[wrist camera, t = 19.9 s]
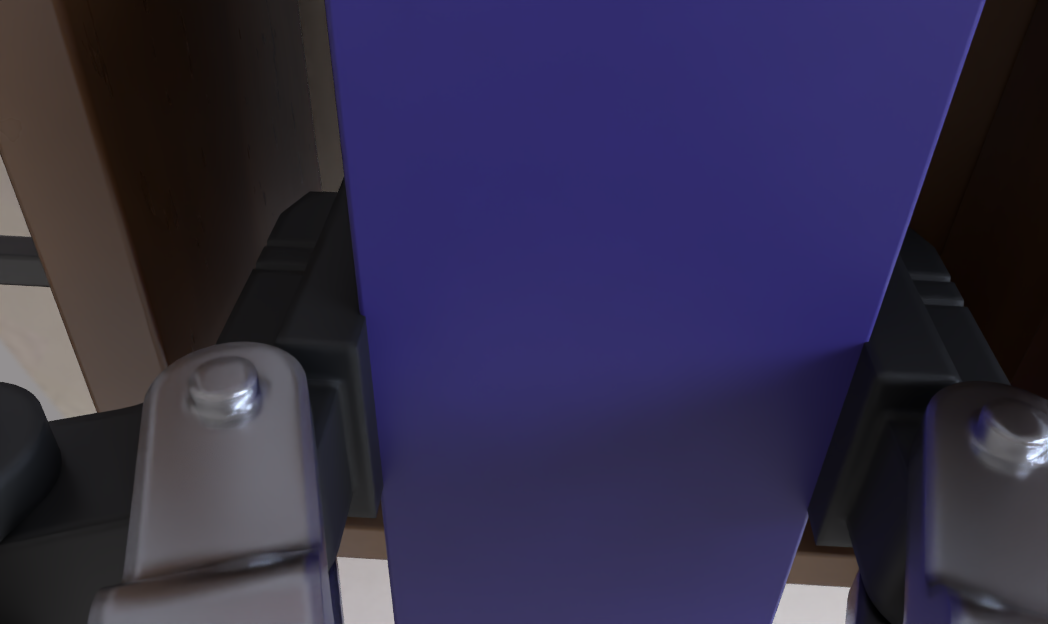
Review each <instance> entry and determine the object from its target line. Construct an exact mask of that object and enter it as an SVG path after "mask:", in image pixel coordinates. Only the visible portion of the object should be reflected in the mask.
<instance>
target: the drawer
mask: <svg viewBox="0 0 1048 624" xmlns="http://www.w3.org/2000/svg"><path fill="white" fill-rule="evenodd" d="M0 154H1V157H2V159H3V162H4V165H5V168H6V170H7V173H8V176H9V178H10V181H11V184H12V186H13V189H14V192H15V194H16V197H17V200H18V202H19V205H20V208H21V210H22V213H23V216H24V218H25V221H26V224H27V226H28V229H29V232H30V234H31V237H22V236H3V235H0V284H4V285H22V286H41V287H50V288H51V291H52V293H53V296H54V299H55V301H56V304H57V307H58V309H59V312H60V315H61V317H62V320H63V323H64V325H65V328H66V331H67V333H68V336H69V339H70V341H71V344H72V347H73V349H74V352H75V355H76V358H77V360H78V363H79V366H80V368H81V371H82V374H83V376H84V379H85V382H86V384H87V387H88V390H89V392H90V395H91V398H92V400H93V403H94V406H95V408H96V411H97V413H100V412H105V411H111V410H117V409H121V408H126V407H130V406H134V405H137V404H140V403H143V402H144V398H145V394H146V393H147V391H148V389H149V387H150V385H151V384H152V382H153V381H154V380H155V378H156V377H157V376H158V375H159V374H160V373H161V372H162V371H163V370H164V369H165V368H167V367H168V366H169V365H171V364H172V363H174V362H175V361H176V360H178V359H180V358H182V357H184V356H186V355H187V354H190V353H192V352H194V351H197V350H199V349H202V348H206V347H209V346H212V345H215V344H216V342H217V340H218V338H219V336H220V334H221V332H222V330H223V328H224V326H225V324H226V322H227V320H228V318H229V316H230V314H231V312H232V310H233V308H234V306H235V304H236V302H237V300H238V298H239V296H240V294H241V292H242V290H243V288H244V286H245V284H246V282H247V280H248V278H249V276H250V274H251V272H252V270H253V269H256V262H257V260H258V258H259V256H260V254H261V252H262V250H263V248H264V246H267V240H268V238H269V236H270V234H271V232H272V230H273V228H274V226H275V224H276V222H277V220H278V218H279V216H280V214H281V213H282V212H283V211H285V210H286V209H287V208H289V207H290V206H291V205H292V204H294V203H295V202H296V201H298V200H299V199H300V198H301V197H303V196H304V195H305V194H307V193H308V192H309V191H317V192H322V187H321V179H320V171H319V164H318V156H317V148H316V140H315V133H314V125H313V117H312V109H311V101H310V94H309V86H308V78H307V70H306V63H305V55H304V47H303V39H302V31H301V24H300V16H299V8H298V0H0ZM909 227H910V228H912V229H913V230H914V231H915V232H916V233H918V234H919V235H920V236H921V237H923V238H924V239H925V240H926V241H928V242H929V243H930V244H931V245H932V246H934V247H935V249H936V251H937V252H938V254H939V256H940V258H941V260H942V261H943V263H944V265H945V267H946V269H947V270H948V272H949V274H950V276H951V278H950V282H954V283H955V285H956V287H957V289H958V290H959V292H960V294H961V296H962V298H963V299H964V307H968V308H969V310H970V312H971V314H972V316H973V318H974V319H975V321H976V323H977V325H978V327H979V328H980V330H981V332H982V334H983V336H984V337H985V339H986V341H987V343H988V345H989V346H990V348H991V350H992V352H993V354H994V356H995V357H996V359H997V361H998V363H999V365H1000V366H1001V368H1002V370H1003V372H1004V374H1005V375H1006V377H1007V379H1008V381H1009V383H1011V381H1012V379H1013V377H1014V375H1015V373H1016V371H1017V369H1018V367H1019V365H1020V363H1021V361H1022V359H1023V357H1024V355H1025V353H1026V351H1027V349H1028V347H1029V345H1030V343H1031V341H1032V339H1033V337H1034V334H1035V332H1036V330H1037V328H1038V326H1039V324H1040V322H1041V320H1042V318H1043V316H1044V314H1045V312H1046V310H1047V308H1048V0H986V1H985V4H984V7H983V10H982V13H981V16H980V19H979V22H978V25H977V27H976V30H975V33H974V36H973V39H972V42H971V45H970V48H969V51H968V54H967V57H966V60H965V62H964V65H963V68H962V71H961V74H960V77H959V80H958V83H957V86H956V89H955V92H954V95H953V97H952V100H951V103H950V106H949V109H948V112H947V115H946V118H945V121H944V124H943V127H942V130H941V132H940V135H939V138H938V141H937V144H936V147H935V150H934V153H933V156H932V159H931V162H930V165H929V167H928V170H927V173H926V176H925V179H924V182H923V185H922V188H921V191H920V194H919V197H918V200H917V202H916V205H915V208H914V211H913V214H912V217H911V220H910V223H909ZM336 557H349V558H366V559H383V560H388V559H387V550H386V542H385V533H384V524H383V515H382V506H381V499H380V504H379V508H378V512H377V517H376V518H361V517H347V520H346V524H345V528H344V531H343V535H342V539H341V543H340V547H339V551H338V554H337V556H336ZM858 569H859V567H858V563H857V560H856V556H855V553H854V549H853V548H852V547H835V546H818V545H816V544H815V540H814V536H813V531H812V527H811V523H810V519H809V517H808V520H807V523H806V526H805V529H804V532H803V535H802V538H801V541H800V544H799V547H798V549H797V552H796V555H795V558H794V561H793V564H792V567H791V570H790V573H789V576H788V579H787V582H786V584H801V585H818V586H835V587H851V586H852V584H853V581H854V579H855V577H856V574H857V572H858Z"/></svg>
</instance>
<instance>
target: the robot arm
mask: <svg viewBox="0 0 1048 624" xmlns="http://www.w3.org/2000/svg"><path fill="white" fill-rule="evenodd" d="M950 278H951V276H950V274H949V272H948V270H947V269H946V267H945V265H944V263H943V261H942V260H941V258H940V256H939V254H938V252H937V251H936V249H935V247H934V246H932V245H931V244H930V243H929V242H928V241H926V240H925V239H924V238H923V237H921V236H920V235H919V234H918V233H916V232H915V231H914V230H913V229H912V228H910V227H909V226H908V229H907V232H906V234H905V237H904V240H903V243H902V246H901V249H900V252H899V255H898V258H897V261H896V264H895V267H894V269H893V272H892V275H891V278H890V281H889V284H888V287H887V290H886V293H885V296H884V299H883V302H882V304H881V307H880V310H879V313H878V316H877V319H876V322H875V325H874V328H873V331H872V334H871V337H870V339H869V342H864V345H863V348H862V351H861V354H860V357H859V360H858V363H857V366H856V369H855V372H854V374H853V377H852V380H851V383H850V386H849V389H848V392H847V395H846V398H845V401H844V404H843V407H842V410H841V413H840V416H839V418H838V421H837V424H836V427H835V430H834V433H833V436H832V439H831V442H830V445H829V448H828V451H827V454H826V457H825V460H824V462H823V465H822V468H821V471H820V474H819V477H818V480H817V483H816V486H815V489H814V492H813V495H812V498H811V501H810V503H809V506H808V509H807V511H808V515H809V519H810V523H811V527H812V531H813V536H814V540H815V544H816V545H818V546H835V547H852V548H853V549H854V553H855V556H856V560H857V563H858V567H859V569H858V572H857V574H856V577H855V579H854V581H853V584H852V586H851V588H850V591H849V595H848V600H847V611H846V622H845V624H1048V400H1046V399H1044V398H1042V397H1040V396H1038V395H1036V394H1034V393H1031V392H1029V391H1026V390H1023V389H1021V388H1017V387H1014V386H1011V384H1010V383H1009V381H1008V379H1007V377H1006V375H1005V374H1004V372H1003V370H1002V368H1001V366H1000V365H999V363H998V361H997V359H996V357H995V356H994V354H993V352H992V350H991V348H990V346H989V345H988V343H987V341H986V339H985V337H984V336H983V334H982V332H981V330H980V328H979V327H978V325H977V323H976V321H975V319H974V318H973V316H972V314H971V312H970V310H969V308H968V307H964V299H963V298H962V296H961V294H960V292H959V290H958V289H957V287H956V285H955V283H954V282H950ZM382 490H383V477H382V467H381V458H380V448H379V439H378V430H377V420H376V411H375V401H374V392H373V383H372V373H371V364H370V354H369V345H368V335H367V326H366V317H365V316H363V315H361V314H360V311H359V302H358V293H357V284H356V275H355V267H354V258H353V249H352V240H351V231H350V222H349V213H348V204H347V196H346V187H345V178H343V181H342V183H341V185H340V188H339V190H338V193H337V192H317V191H309V192H308V193H307V194H305V195H304V196H303V197H301V198H300V199H299V200H298V201H296V202H295V203H294V204H292V205H291V206H290V207H289V208H287V209H286V210H285V211H283V212H282V213H281V214H280V216H279V218H278V220H277V222H276V224H275V226H274V228H273V230H272V232H271V234H270V236H269V238H268V240H267V246H264V248H263V250H262V252H261V254H260V256H259V258H258V260H257V262H256V269H253V270H252V272H251V274H250V276H249V278H248V280H247V282H246V284H245V286H244V288H243V290H242V292H241V294H240V296H239V298H238V300H237V302H236V304H235V306H234V308H233V310H232V312H231V314H230V316H229V318H228V320H227V322H226V324H225V326H224V328H223V330H222V332H221V334H220V336H219V338H218V340H217V342H216V344H215V345H212V346H209V347H206V348H202V349H199V350H197V351H194V352H192V353H190V354H187V355H186V356H184V357H182V358H180V359H178V360H176V361H175V362H174V363H172V364H171V365H169V366H168V367H167V368H165V369H164V370H163V371H162V372H161V373H160V374H159V375H158V376H157V377H156V378H155V380H154V381H153V382H152V384H151V385H150V387H149V389H148V391H147V393H146V394H145V398H144V402H143V403H140V404H137V405H134V406H130V407H126V408H121V409H117V410H111V411H105V412H100V413H94V414H88V415H83V416H77V417H71V418H66V419H60V420H54V421H49V422H48V421H47V418H46V416H45V414H44V411H43V409H42V406H41V404H40V402H39V401H38V399H37V398H36V397H35V396H34V395H33V394H32V393H30V392H29V391H27V390H26V389H24V388H22V387H19V386H17V385H14V384H9V383H4V382H0V624H344V616H343V606H342V597H341V588H340V578H339V569H338V563H337V557H336V556H337V554H338V551H339V547H340V543H341V539H342V535H343V531H344V528H345V524H346V520H347V517H361V518H376V517H377V512H378V508H379V504H380V499H381V495H382Z"/></svg>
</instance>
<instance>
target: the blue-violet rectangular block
mask: <svg viewBox="0 0 1048 624" xmlns="http://www.w3.org/2000/svg"><path fill="white" fill-rule="evenodd" d="M985 1H986V0H325V9H326V18H327V27H328V36H329V45H330V54H331V62H332V71H333V80H334V89H335V98H336V107H337V116H338V125H339V133H340V142H341V151H342V160H343V169H344V178H345V187H346V196H347V204H348V213H349V222H350V231H351V240H352V249H353V258H354V267H355V275H356V284H357V293H358V302H359V311H360V314H361V315H363V316H365V317H366V326H367V335H368V345H369V354H370V364H371V373H372V383H373V392H374V401H375V411H376V420H377V430H378V439H379V448H380V458H381V467H382V477H383V490H382V495H381V506H382V515H383V524H384V533H385V542H386V550H387V559H388V568H389V577H390V586H391V595H392V604H393V613H394V621H395V624H772V622H773V619H774V617H775V614H776V611H777V608H778V605H779V602H780V599H781V596H782V593H783V590H784V587H785V584H786V582H787V579H788V576H789V573H790V570H791V567H792V564H793V561H794V558H795V555H796V552H797V549H798V547H799V544H800V541H801V538H802V535H803V532H804V529H805V526H806V523H807V520H808V517H809V515H808V511H807V509H808V506H809V503H810V501H811V498H812V495H813V492H814V489H815V486H816V483H817V480H818V477H819V474H820V471H821V468H822V465H823V462H824V460H825V457H826V454H827V451H828V448H829V445H830V442H831V439H832V436H833V433H834V430H835V427H836V424H837V421H838V418H839V416H840V413H841V410H842V407H843V404H844V401H845V398H846V395H847V392H848V389H849V386H850V383H851V380H852V377H853V374H854V372H855V369H856V366H857V363H858V360H859V357H860V354H861V351H862V348H863V345H864V342H869V339H870V337H871V334H872V331H873V328H874V325H875V322H876V319H877V316H878V313H879V310H880V307H881V304H882V302H883V299H884V296H885V293H886V290H887V287H888V284H889V281H890V278H891V275H892V272H893V269H894V267H895V264H896V261H897V258H898V255H899V252H900V249H901V246H902V243H903V240H904V237H905V234H906V232H907V229H908V226H909V223H910V220H911V217H912V214H913V211H914V208H915V205H916V202H917V200H918V197H919V194H920V191H921V188H922V185H923V182H924V179H925V176H926V173H927V170H928V167H929V165H930V162H931V159H932V156H933V153H934V150H935V147H936V144H937V141H938V138H939V135H940V132H941V130H942V127H943V124H944V121H945V118H946V115H947V112H948V109H949V106H950V103H951V100H952V97H953V95H954V92H955V89H956V86H957V83H958V80H959V77H960V74H961V71H962V68H963V65H964V62H965V60H966V57H967V54H968V51H969V48H970V45H971V42H972V39H973V36H974V33H975V30H976V27H977V25H978V22H979V19H980V16H981V13H982V10H983V7H984V4H985Z"/></svg>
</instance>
